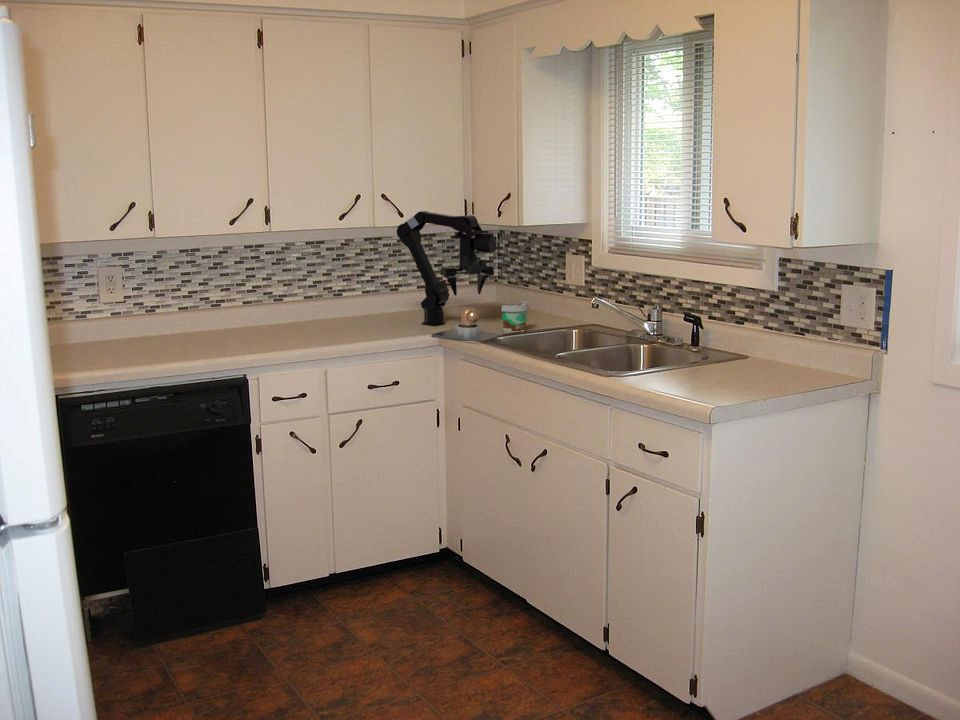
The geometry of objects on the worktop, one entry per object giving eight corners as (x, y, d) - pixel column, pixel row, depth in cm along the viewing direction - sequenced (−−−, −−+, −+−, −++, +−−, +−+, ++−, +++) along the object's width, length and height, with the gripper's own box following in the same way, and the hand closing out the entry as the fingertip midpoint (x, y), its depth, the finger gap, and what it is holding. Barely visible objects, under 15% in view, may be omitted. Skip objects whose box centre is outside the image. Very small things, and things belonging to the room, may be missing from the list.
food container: (515, 335, 346) (515, 307, 344) (501, 333, 350) (501, 305, 348) (535, 330, 356) (535, 302, 354) (521, 328, 359) (521, 300, 357)
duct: (431, 336, 342) (431, 325, 342) (458, 330, 354) (458, 319, 353) (478, 344, 331) (478, 332, 330) (504, 337, 343) (504, 325, 342)
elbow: (467, 337, 336) (467, 311, 334) (458, 333, 344) (458, 307, 342) (481, 336, 338) (481, 310, 336) (471, 332, 345) (472, 306, 343)
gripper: (451, 254, 343) (451, 299, 346) (500, 252, 350) (500, 296, 354) (439, 251, 353) (439, 295, 356) (487, 249, 360) (487, 292, 364)
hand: (467, 294), depth 357 cm, fingers open, 9 cm apart
